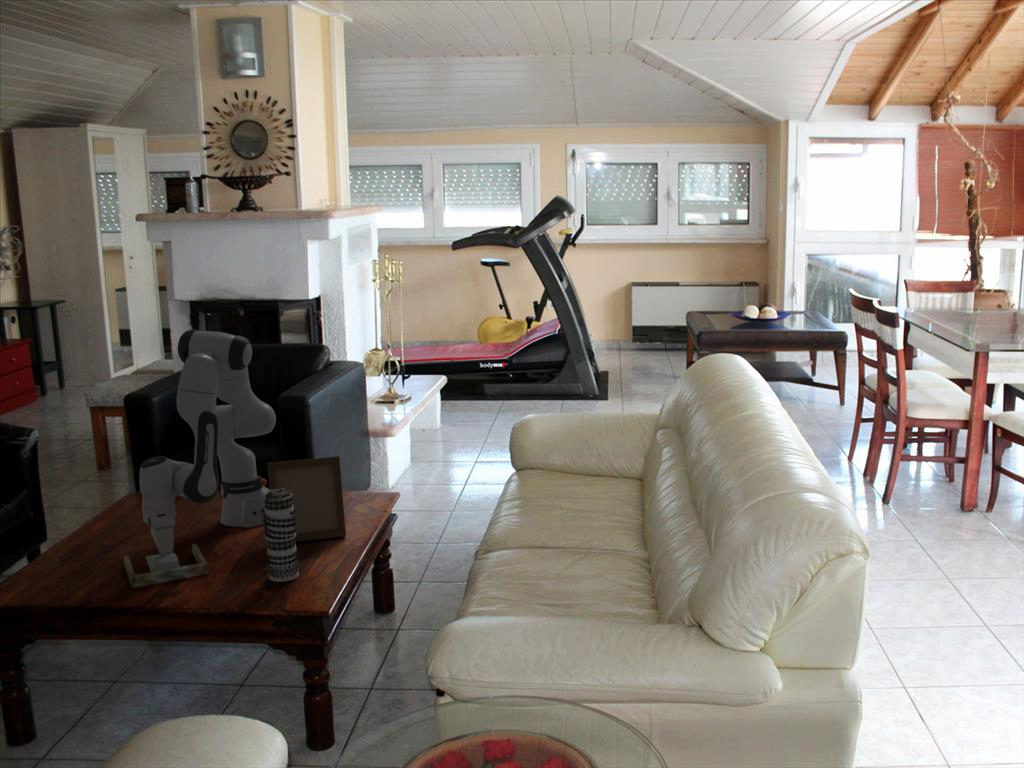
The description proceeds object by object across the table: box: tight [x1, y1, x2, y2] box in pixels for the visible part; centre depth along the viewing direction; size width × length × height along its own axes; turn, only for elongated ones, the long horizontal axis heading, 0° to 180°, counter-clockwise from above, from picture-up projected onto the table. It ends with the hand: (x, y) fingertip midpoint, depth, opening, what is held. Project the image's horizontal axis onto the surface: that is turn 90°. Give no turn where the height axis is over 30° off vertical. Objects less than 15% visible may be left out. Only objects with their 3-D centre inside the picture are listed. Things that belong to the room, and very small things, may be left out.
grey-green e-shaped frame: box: [123, 543, 209, 589], centre depth 288 cm, size 20×24×3 cm
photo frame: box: [266, 455, 347, 543], centre depth 310 cm, size 15×22×25 cm
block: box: [154, 553, 180, 572], centre depth 284 cm, size 6×6×4 cm
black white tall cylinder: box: [262, 488, 300, 583], centre depth 277 cm, size 9×9×25 cm
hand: (163, 558), depth 287 cm, fingers closed
